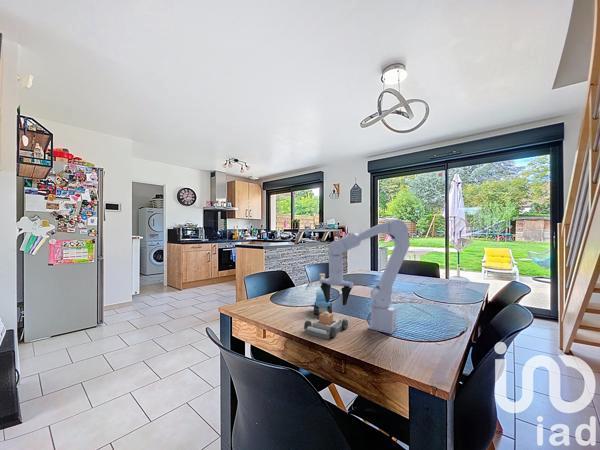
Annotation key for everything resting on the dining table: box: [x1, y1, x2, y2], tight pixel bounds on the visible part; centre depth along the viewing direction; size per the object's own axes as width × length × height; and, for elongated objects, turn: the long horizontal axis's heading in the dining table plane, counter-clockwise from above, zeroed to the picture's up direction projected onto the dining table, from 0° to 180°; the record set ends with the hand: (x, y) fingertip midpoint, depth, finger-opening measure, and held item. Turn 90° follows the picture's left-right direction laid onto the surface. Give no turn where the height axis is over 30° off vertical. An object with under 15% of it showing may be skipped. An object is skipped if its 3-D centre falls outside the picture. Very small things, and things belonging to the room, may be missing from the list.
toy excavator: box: [313, 273, 333, 316], centre depth 126 cm, size 9×17×17 cm, turn 174°
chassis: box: [303, 313, 349, 340], centre depth 102 cm, size 12×16×4 cm
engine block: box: [318, 312, 334, 326], centre depth 102 cm, size 4×4×5 cm
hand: (336, 303), depth 106 cm, fingers open, 7 cm apart
